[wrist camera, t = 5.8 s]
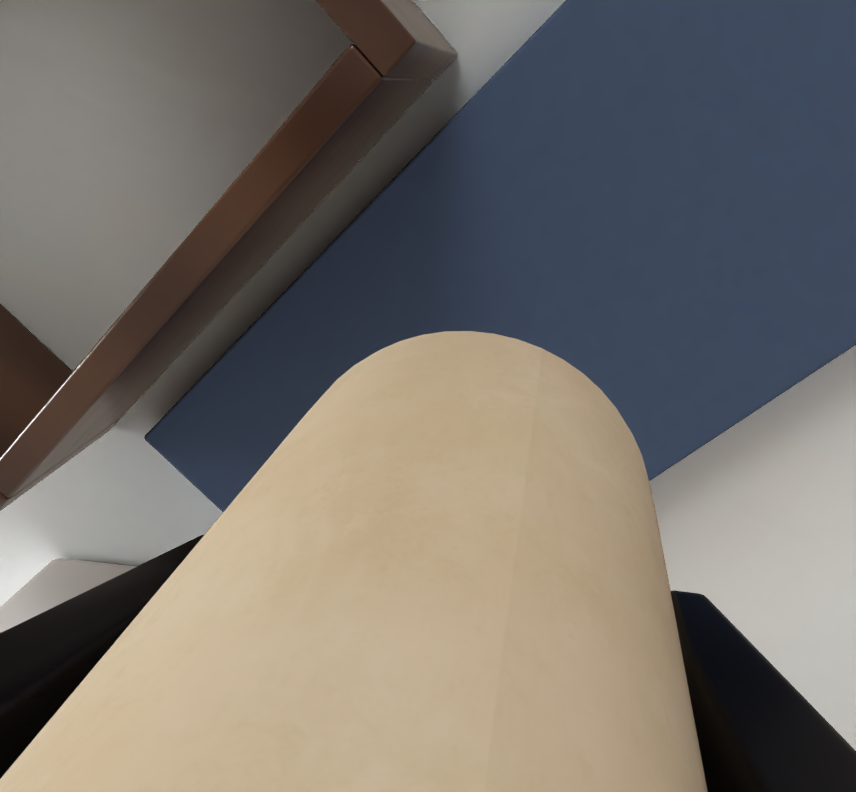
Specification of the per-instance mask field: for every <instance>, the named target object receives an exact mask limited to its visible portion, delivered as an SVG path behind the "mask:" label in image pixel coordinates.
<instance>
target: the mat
mask: <svg viewBox="0 0 856 792" xmlns="http://www.w3.org/2000/svg"><path fill="white" fill-rule="evenodd" d="M445 331H475V332H484V333H493V334H498V335H502V336H506V337H510V338H515V339H519V340H521V341H524V342H527V343H529V344H532V345H535V346H537V347H540V348H542V349H544V350H546V351H548V352H550V353H552V354H554V355H556V356H558V357H559V358H561V359H563V360H565V361H566V362H568V363H569V364H570V365H572V366H573V367H575V368H576V369H578V370H579V371H580V372H582V373H583V374H584V375H586V376H587V377H588V378H589V379H590V380H591V381H592V382H593V383H594V384H595V385H596V386H598V387H599V388H600V389H601V390H602V391H603V393H604V394H605V395H606V396H607V397H608V399H609V400H610V401H611V402H612V403H613V405H614V406H615V407H616V408H617V410H618V412H619V413H620V415H621V416H622V418H623V420H624V421H625V423H626V424H627V426H628V428H629V429H630V431H631V433H632V434H633V436H634V438H635V441H636V443H637V445H638V447H639V450H640V452H641V454H642V457H643V461H644V464H645V468H646V472H647V475H648V479H649V481H650V480H652V479H653V478H655V477H656V476H658V475H659V474H661V473H662V472H664V471H665V470H667V469H668V468H670V467H671V466H673V465H674V464H676V463H677V462H679V461H680V460H682V459H683V458H685V457H686V456H688V455H689V454H691V453H693V452H694V451H696V450H697V449H699V448H700V447H702V446H703V445H705V444H706V443H708V442H709V441H711V440H712V439H714V438H715V437H717V436H718V435H720V434H721V433H723V432H724V431H726V430H727V429H729V428H730V427H732V426H733V425H735V424H736V423H738V422H739V421H741V420H742V419H744V418H746V417H747V416H749V415H750V414H752V413H753V412H755V411H756V410H758V409H759V408H761V407H762V406H764V405H765V404H767V403H768V402H770V401H771V400H773V399H774V398H776V397H777V396H779V395H780V394H782V393H783V392H785V391H786V390H788V389H789V388H791V387H792V386H794V385H795V384H797V383H798V382H800V381H802V380H803V379H805V378H806V377H808V376H809V375H811V374H812V373H814V372H815V371H817V370H818V369H820V368H821V367H823V366H824V365H826V364H827V363H829V362H830V361H832V360H833V359H835V358H836V357H838V356H839V355H841V354H842V353H844V352H845V351H847V350H848V349H850V348H851V347H853V346H854V345H856V0H566V1H565V2H564V3H563V4H562V5H561V6H560V7H559V8H558V9H557V10H556V11H555V13H554V14H553V15H552V16H551V17H550V18H549V19H548V20H547V21H546V22H545V23H544V24H543V25H542V26H541V27H540V28H539V29H538V30H537V31H536V32H535V33H534V34H533V35H532V36H531V37H530V38H529V39H528V40H527V41H526V42H525V44H524V45H523V46H522V47H521V48H520V49H519V50H518V51H517V52H516V53H515V54H514V55H513V56H512V57H511V58H510V59H509V60H508V61H507V62H506V63H505V64H504V65H503V66H502V67H501V68H500V69H499V70H498V71H497V72H496V73H495V75H494V76H493V77H492V78H491V79H490V80H489V81H488V82H487V83H486V84H485V85H484V86H483V87H482V88H481V89H480V90H479V91H478V92H477V93H476V94H475V95H474V96H473V97H472V98H471V99H470V100H469V101H468V102H467V103H466V104H465V106H464V107H463V108H462V109H461V110H460V111H459V112H458V113H457V114H456V115H455V116H454V117H453V118H452V119H451V120H450V121H449V122H448V123H447V124H446V125H445V126H444V127H443V128H442V129H441V130H440V131H439V132H438V133H437V134H436V135H435V137H434V138H433V139H432V140H431V141H430V142H429V143H428V144H427V145H426V146H425V147H424V148H423V149H422V150H421V151H420V152H419V153H418V154H417V155H416V156H415V157H414V158H413V159H412V160H411V161H410V162H409V163H408V164H407V165H406V166H405V168H404V169H403V170H402V171H401V172H400V173H399V174H398V175H397V176H396V177H395V178H394V179H393V180H392V181H391V182H390V183H389V184H388V185H387V186H386V187H385V188H384V189H383V190H382V191H381V192H380V193H379V194H378V195H377V196H376V197H375V199H374V200H373V201H372V202H371V203H370V204H369V205H368V206H367V207H366V208H365V209H364V210H363V211H362V212H361V213H360V214H359V215H358V216H357V217H356V218H355V219H354V220H353V221H352V222H351V223H350V224H349V225H348V226H347V227H346V228H345V230H344V231H343V232H342V233H341V234H340V235H339V236H338V237H337V238H336V239H335V240H334V241H333V242H332V243H331V244H330V245H329V246H328V247H327V248H326V249H325V250H324V251H323V252H322V253H321V254H320V255H319V256H318V257H317V258H316V259H315V261H314V262H313V263H312V264H311V265H310V266H309V267H308V268H307V269H306V270H305V271H304V272H303V273H302V274H301V275H300V276H299V277H298V278H297V279H296V280H295V281H294V282H293V283H292V284H291V285H290V286H289V287H288V288H287V289H286V290H285V292H284V293H283V294H282V295H281V296H280V297H279V298H278V299H277V300H276V301H275V302H274V303H273V304H272V305H271V306H270V307H269V308H268V309H267V310H266V311H265V312H264V313H263V314H262V315H261V316H260V317H259V318H258V319H257V320H256V321H255V323H254V324H253V325H252V326H251V327H250V328H249V329H248V330H247V331H246V332H245V333H244V334H243V335H242V336H241V337H240V338H239V339H238V340H237V341H236V342H235V343H234V344H233V345H232V346H231V347H230V348H229V349H228V350H227V351H226V352H225V354H224V355H223V356H222V357H221V358H220V359H219V360H218V361H217V362H216V363H215V364H214V365H213V366H212V367H211V368H210V369H209V370H208V371H207V372H206V373H205V374H204V375H203V376H202V377H201V378H200V379H199V380H198V381H197V382H196V383H195V385H194V386H193V387H192V388H191V389H190V390H189V391H188V392H187V393H186V394H185V395H184V396H183V397H182V398H181V399H180V400H179V401H178V402H177V403H176V404H175V405H174V406H173V407H172V408H171V409H170V410H169V411H168V412H167V413H166V414H165V416H164V417H163V418H162V419H161V420H160V421H159V422H158V423H157V424H156V425H155V426H154V427H153V428H152V429H151V430H150V431H149V432H148V433H147V434H146V435H145V440H146V441H147V442H148V443H149V444H150V445H152V446H153V447H154V448H155V449H156V450H157V451H158V452H159V453H160V454H161V455H162V456H163V457H164V458H166V459H167V460H168V461H169V462H170V463H171V464H172V465H173V466H174V467H175V468H176V469H177V470H178V471H179V472H181V473H182V474H183V475H184V476H185V477H186V478H187V479H188V480H189V481H190V482H191V483H192V484H193V485H195V486H196V487H197V488H198V489H199V490H200V491H201V492H202V493H203V494H204V495H205V496H206V497H207V498H208V499H210V500H211V501H212V502H213V503H214V504H215V505H216V506H217V507H218V508H219V509H220V510H221V511H222V512H224V511H225V510H226V509H227V508H228V506H229V505H230V504H231V503H232V502H233V500H234V499H235V498H236V497H237V496H238V494H239V493H240V492H241V491H242V490H243V488H244V487H245V486H246V485H247V484H248V482H249V481H250V480H251V479H252V478H253V476H254V475H255V474H256V473H257V472H258V470H259V469H260V468H261V467H262V466H263V465H264V463H265V462H266V461H267V460H268V459H269V457H270V456H271V455H272V454H273V453H274V451H275V450H276V449H277V448H278V447H279V445H280V444H281V443H282V442H283V441H284V439H285V438H286V437H287V436H288V435H289V433H290V432H291V431H292V430H293V429H294V427H295V426H296V425H297V424H298V423H299V421H300V420H301V419H302V418H303V417H304V416H305V414H306V413H307V412H308V411H309V410H310V409H311V408H312V407H313V405H314V404H315V403H316V402H317V401H318V400H319V399H320V398H321V397H322V395H323V394H324V393H325V392H326V391H327V390H328V389H329V388H330V387H331V386H332V384H333V383H334V382H335V381H336V380H337V379H338V378H339V377H341V376H342V375H343V374H344V373H345V372H347V371H348V370H349V369H350V368H351V367H353V366H354V365H356V364H357V363H359V362H360V361H362V360H364V359H365V358H367V357H369V356H370V355H372V354H373V353H375V352H377V351H379V350H381V349H383V348H385V347H388V346H390V345H392V344H395V343H397V342H399V341H402V340H406V339H409V338H413V337H416V336H420V335H424V334H431V333H438V332H445Z"/></svg>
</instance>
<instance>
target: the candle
mask: <svg viewBox="0 0 856 792" xmlns="http://www.w3.org/2000/svg"><path fill="white" fill-rule="evenodd" d="M0 792H708V791H707V785H706V780H705V775H704V769H703V764H702V758H701V753H700V748H699V742H698V737H697V732H696V726H695V721H694V715H693V710H692V705H691V699H690V694H689V688H688V683H687V678H686V672H685V667H684V661H683V656H682V651H681V645H680V640H679V635H678V629H677V624H676V618H675V613H674V608H673V602H672V597H671V591H670V586H669V581H668V575H667V570H666V564H665V559H664V554H663V548H662V543H661V538H660V532H659V527H658V521H657V516H656V511H655V505H654V501H653V497H652V492H651V488H650V484H649V479H648V475H647V472H646V468H645V464H644V461H643V457H642V454H641V452H640V450H639V447H638V445H637V443H636V441H635V438H634V436H633V434H632V433H631V431H630V429H629V428H628V426H627V424H626V423H625V421H624V420H623V418H622V416H621V415H620V413H619V412H618V410H617V408H616V407H615V406H614V405H613V403H612V402H611V401H610V400H609V399H608V397H607V396H606V395H605V394H604V393H603V391H602V390H601V389H600V388H599V387H598V386H596V385H595V384H594V383H593V382H592V381H591V380H590V379H589V378H588V377H587V376H586V375H584V374H583V373H582V372H580V371H579V370H578V369H576V368H575V367H573V366H572V365H570V364H569V363H568V362H566V361H565V360H563V359H561V358H559V357H558V356H556V355H554V354H552V353H550V352H548V351H546V350H544V349H542V348H540V347H537V346H535V345H532V344H529V343H527V342H524V341H521V340H519V339H515V338H510V337H506V336H502V335H498V334H493V333H484V332H475V331H445V332H438V333H431V334H424V335H420V336H416V337H413V338H409V339H406V340H402V341H399V342H397V343H395V344H392V345H390V346H388V347H385V348H383V349H381V350H379V351H377V352H375V353H373V354H372V355H370V356H369V357H367V358H365V359H364V360H362V361H360V362H359V363H357V364H356V365H354V366H353V367H351V368H350V369H349V370H348V371H347V372H345V373H344V374H343V375H342V376H341V377H339V378H338V379H337V380H336V381H335V382H334V383H333V384H332V386H331V387H330V388H329V389H328V390H327V391H326V392H325V393H324V394H323V395H322V397H321V398H320V399H319V400H318V401H317V402H316V403H315V404H314V405H313V407H312V408H311V409H310V410H309V411H308V412H307V413H306V414H305V416H304V417H303V418H302V419H301V420H300V421H299V423H298V424H297V425H296V426H295V427H294V429H293V430H292V431H291V432H290V433H289V435H288V436H287V437H286V438H285V439H284V441H283V442H282V443H281V444H280V445H279V447H278V448H277V449H276V450H275V451H274V453H273V454H272V455H271V456H270V457H269V459H268V460H267V461H266V462H265V463H264V465H263V466H262V467H261V468H260V469H259V470H258V472H257V473H256V474H255V475H254V476H253V478H252V479H251V480H250V481H249V482H248V484H247V485H246V486H245V487H244V488H243V490H242V491H241V492H240V493H239V494H238V496H237V497H236V498H235V499H234V500H233V502H232V503H231V504H230V505H229V506H228V508H227V509H226V510H225V511H224V512H223V514H222V515H221V516H220V517H219V518H218V519H217V521H216V522H215V523H214V524H213V525H212V527H211V528H210V529H209V530H208V531H207V533H206V534H205V535H204V536H203V537H202V539H201V540H200V541H199V542H198V543H197V545H196V546H195V547H194V548H193V549H192V551H191V552H190V553H189V554H188V555H187V557H186V558H185V559H184V560H183V561H182V563H181V564H180V565H179V566H178V567H177V568H176V570H175V571H174V572H173V573H172V574H171V576H170V577H169V578H168V579H167V580H166V582H165V583H164V584H163V585H162V586H161V588H160V589H159V590H158V591H157V592H156V594H155V595H154V596H153V597H152V598H151V600H150V601H149V602H148V603H147V604H146V606H145V607H144V608H143V609H142V610H141V612H140V613H139V614H138V615H137V616H136V617H135V619H134V620H133V621H132V622H131V623H130V625H129V626H128V627H127V628H126V629H125V631H124V632H123V633H122V634H121V635H120V637H119V638H118V639H117V640H116V641H115V643H114V644H113V645H112V646H111V647H110V649H109V650H108V651H107V652H106V653H105V655H104V656H103V657H102V658H101V659H100V660H99V662H98V663H97V664H96V665H95V666H94V668H93V669H92V670H91V671H90V672H89V674H88V675H87V676H86V677H85V678H84V680H83V681H82V682H81V683H80V684H79V686H78V687H77V688H76V689H75V690H74V692H73V693H72V694H71V695H70V696H69V698H68V699H67V700H66V701H65V702H64V704H63V705H62V706H61V707H60V708H59V709H58V711H57V712H56V713H55V714H54V715H53V717H52V718H51V719H50V720H49V721H48V723H47V724H46V725H45V726H44V727H43V729H42V730H41V731H40V732H39V733H38V735H37V736H36V737H35V738H34V739H33V741H32V742H31V743H30V744H29V745H28V747H27V748H26V749H25V750H24V751H23V753H22V754H21V755H20V756H19V757H18V758H17V760H16V761H15V762H14V763H13V764H12V766H11V767H10V768H9V769H8V770H7V772H6V773H5V774H4V775H3V776H2V778H1V779H0Z"/></svg>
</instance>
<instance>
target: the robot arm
mask: <svg viewBox="0 0 856 792" xmlns="http://www.w3.org/2000/svg"><path fill="white" fill-rule="evenodd" d="M203 536H204V535H201V536H199V537H197V538H195V539H193V540H191V541H189V542H187V543H185V544H183V545H180V546H178V547H176V548H174V549H172V550H170V551H168V552H166V553H164V554H162V555H160V556H158V557H156V558H154V559H152V560H150V561H148V562H145V563H143V564H141V565H139V566H137V567H135V568H133V569H131V570H129V571H127V572H125V573H123V574H121V575H119V576H117V577H115V578H113V579H110V580H108V581H106V582H104V583H102V584H100V585H98V586H96V587H94V588H92V589H90V590H88V591H86V592H84V593H82V594H80V595H78V596H75V597H73V598H71V599H69V600H67V601H65V602H63V603H61V604H59V605H57V606H55V607H53V608H51V609H49V610H47V611H45V612H43V613H40V614H38V615H36V616H34V617H32V618H30V619H28V620H26V621H24V622H22V623H20V624H18V625H16V626H14V627H12V628H10V629H8V630H5V631H3V632H1V633H0V779H1V778H2V776H3V775H4V774H5V773H6V772H7V770H8V769H9V768H10V767H11V766H12V764H13V763H14V762H15V761H16V760H17V758H18V757H19V756H20V755H21V754H22V753H23V751H24V750H25V749H26V748H27V747H28V745H29V744H30V743H31V742H32V741H33V739H34V738H35V737H36V736H37V735H38V733H39V732H40V731H41V730H42V729H43V727H44V726H45V725H46V724H47V723H48V721H49V720H50V719H51V718H52V717H53V715H54V714H55V713H56V712H57V711H58V709H59V708H60V707H61V706H62V705H63V704H64V702H65V701H66V700H67V699H68V698H69V696H70V695H71V694H72V693H73V692H74V690H75V689H76V688H77V687H78V686H79V684H80V683H81V682H82V681H83V680H84V678H85V677H86V676H87V675H88V674H89V672H90V671H91V670H92V669H93V668H94V666H95V665H96V664H97V663H98V662H99V660H100V659H101V658H102V657H103V656H104V655H105V653H106V652H107V651H108V650H109V649H110V647H111V646H112V645H113V644H114V643H115V641H116V640H117V639H118V638H119V637H120V635H121V634H122V633H123V632H124V631H125V629H126V628H127V627H128V626H129V625H130V623H131V622H132V621H133V620H134V619H135V617H136V616H137V615H138V614H139V613H140V612H141V610H142V609H143V608H144V607H145V606H146V604H147V603H148V602H149V601H150V600H151V598H152V597H153V596H154V595H155V594H156V592H157V591H158V590H159V589H160V588H161V586H162V585H163V584H164V583H165V582H166V580H167V579H168V578H169V577H170V576H171V574H172V573H173V572H174V571H175V570H176V568H177V567H178V566H179V565H180V564H181V563H182V561H183V560H184V559H185V558H186V557H187V555H188V554H189V553H190V552H191V551H192V549H193V548H194V547H195V546H196V545H197V543H198V542H199V541H200V540H201V539H202V537H203ZM671 597H672V602H673V608H674V613H675V618H676V624H677V629H678V635H679V640H680V645H681V651H682V656H683V661H684V667H685V672H686V678H687V683H688V688H689V694H690V699H691V705H692V710H693V715H694V721H695V726H696V732H697V737H698V742H699V748H700V753H701V758H702V764H703V769H704V775H705V780H706V785H707V791H708V792H856V751H855V750H854V749H853V748H852V747H851V746H850V745H849V744H848V743H847V741H846V740H845V739H844V738H843V737H842V736H841V735H840V734H839V733H838V732H837V731H836V730H835V729H834V728H833V727H832V726H831V725H830V724H829V723H828V722H827V721H826V720H825V719H824V718H823V717H822V716H821V715H820V714H819V713H818V712H817V711H816V710H815V709H814V708H813V706H812V705H811V704H810V703H809V702H808V701H807V700H806V699H805V698H804V697H803V696H802V695H801V694H800V693H799V692H798V691H797V690H796V689H795V688H794V687H793V686H792V685H791V684H790V683H789V682H788V681H787V680H786V679H785V678H784V677H783V676H782V675H781V674H780V673H779V671H778V670H777V669H776V668H775V667H774V666H773V665H772V664H771V663H770V662H769V661H768V660H767V659H766V658H765V657H764V656H763V655H762V654H761V653H760V652H759V651H758V650H757V649H756V648H755V647H754V646H753V645H752V644H751V643H750V642H749V641H748V640H747V639H746V637H745V636H744V635H743V634H742V633H741V632H740V631H739V630H738V629H737V628H736V627H735V626H734V625H733V624H732V623H731V622H730V621H729V620H728V619H727V618H726V617H725V616H724V615H723V614H722V613H721V612H720V611H719V610H718V609H717V608H716V607H715V606H714V605H713V604H712V602H711V601H710V600H709V599H708V598H706V597H705V596H704V595H702V594H698V593H689V592H681V591H671Z"/></svg>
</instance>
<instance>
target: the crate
mask: <svg viewBox="0 0 856 792" xmlns="http://www.w3.org/2000/svg"><path fill="white" fill-rule="evenodd" d="M316 1H317V3H318V4H319V5H320V6H321V7H322V8H323V9H324V10H325V12H326V13H327V14H328V15H329V16H330V17H331V18H332V19H333V21H334V22H335V23H336V24H337V25H338V26H339V27H340V28H341V29H342V31H343V32H344V33H345V34H346V35H347V36H348V37H349V38H350V40H351V41H352V42H353V43H354V44H352V45H350V46H348V48H347V49H346V50H345V51H344V52H343V53H342V55H341V56H340V57H339V58H338V59H337V61H336V62H335V63H334V64H333V65H332V66H331V68H330V69H329V70H328V71H327V72H326V74H325V75H324V76H323V77H322V78H321V79H320V81H319V82H318V83H317V84H316V85H315V87H314V88H313V89H312V90H311V91H310V92H309V94H308V95H307V96H306V97H305V98H304V100H303V101H302V102H301V103H300V104H299V105H298V107H297V108H296V109H295V110H294V111H293V112H292V114H291V115H290V116H289V117H288V118H287V120H286V121H285V122H284V123H283V124H282V125H281V127H280V128H279V129H278V130H277V131H276V133H275V134H274V135H273V136H272V137H271V138H270V140H269V141H268V142H267V143H266V144H265V146H264V147H263V148H262V149H261V150H260V151H259V153H258V154H257V155H256V156H255V157H254V159H253V160H252V161H251V162H250V163H249V164H248V166H247V167H246V168H245V169H244V170H243V171H242V173H241V174H240V175H239V176H238V177H237V179H236V180H235V181H234V182H233V183H232V184H231V186H230V187H229V188H228V189H227V190H226V192H225V193H224V194H223V195H222V196H221V197H220V199H219V200H218V201H217V202H216V203H215V205H214V206H213V207H212V208H211V209H210V210H209V212H208V213H207V214H206V215H205V216H204V218H203V219H202V220H201V221H200V222H199V223H198V225H197V226H196V227H195V228H194V229H193V231H192V232H191V233H190V234H189V235H188V236H187V238H186V239H185V240H184V241H183V242H182V243H181V245H180V246H179V247H178V248H177V249H176V251H175V252H174V253H173V254H172V255H171V256H170V258H169V259H168V260H167V261H166V262H165V264H164V265H163V266H162V267H161V268H160V269H159V271H158V272H157V273H156V274H155V275H154V277H153V278H152V279H151V280H150V281H149V282H148V284H147V285H146V286H145V287H144V288H143V290H142V291H141V292H140V293H139V294H138V295H137V297H136V298H135V299H134V300H133V301H132V303H131V304H130V305H129V306H128V307H127V308H126V310H125V311H124V312H123V313H122V314H121V315H120V317H119V318H118V319H117V320H116V321H115V323H114V324H113V325H112V326H111V327H110V328H109V330H108V331H107V332H106V333H105V334H104V336H103V337H102V338H101V339H100V340H99V341H98V343H97V344H96V345H95V346H94V347H93V349H92V350H91V351H90V352H89V353H88V354H87V356H86V357H85V358H84V359H83V360H82V362H81V363H80V364H79V365H78V366H77V367H76V369H75V370H74V371H71V370H70V369H69V368H68V367H67V366H66V365H65V364H64V363H63V362H62V361H61V360H60V359H59V358H57V357H56V356H55V355H54V354H53V353H52V352H51V351H50V350H49V349H48V348H47V347H46V346H45V345H44V344H42V343H41V342H40V341H39V340H38V339H37V338H36V337H35V336H34V335H33V334H32V333H31V332H30V331H28V330H27V329H26V328H25V327H24V326H23V325H22V324H21V323H20V322H19V321H18V320H17V319H16V318H15V317H13V316H12V315H11V314H10V313H9V312H8V311H7V310H6V309H5V308H4V307H3V306H2V305H1V304H0V511H1V510H2V509H4V508H5V507H6V506H8V505H9V504H10V503H12V502H13V501H14V500H16V499H17V498H18V497H20V496H21V495H23V494H24V493H25V492H27V491H28V490H29V489H31V488H32V487H33V486H35V485H36V484H37V483H39V482H40V481H42V480H43V479H44V478H46V477H47V476H48V475H50V474H51V473H52V472H54V471H55V470H56V469H58V468H59V467H61V466H62V465H63V464H65V463H66V462H67V461H69V460H70V459H71V458H73V457H74V456H75V455H77V454H78V453H79V452H81V451H82V450H84V449H85V448H86V447H88V446H89V445H90V444H92V443H93V442H94V441H96V440H97V439H98V438H100V437H101V436H103V435H104V434H105V433H107V432H108V431H109V430H110V429H111V428H112V427H113V426H114V425H115V424H116V423H117V422H118V420H119V419H120V418H121V417H122V416H123V415H124V414H125V413H126V412H127V411H128V410H129V409H130V408H131V406H132V405H133V404H134V403H135V402H136V401H137V400H138V399H139V398H140V397H141V396H142V395H143V394H144V392H145V391H146V390H147V389H148V388H149V387H150V386H151V385H152V384H153V383H154V382H155V381H156V380H157V378H158V377H159V376H160V375H161V374H162V373H163V372H164V371H165V370H166V369H167V368H168V367H169V366H170V364H171V363H172V362H173V361H174V360H175V359H176V358H177V357H178V356H179V355H180V354H181V353H182V352H183V350H184V349H185V348H186V347H187V346H188V345H189V344H190V343H191V342H192V341H193V340H194V339H195V338H196V336H197V335H198V334H199V333H200V332H201V331H202V330H203V329H204V328H205V327H206V326H207V325H208V324H209V322H210V321H211V320H212V319H213V318H214V317H215V316H216V315H217V314H218V313H219V312H220V311H221V310H222V308H223V307H224V306H225V305H226V304H227V303H228V302H229V301H230V300H231V299H232V298H233V297H234V296H235V295H236V293H237V292H238V291H239V290H240V289H241V288H242V287H243V286H244V285H245V284H246V283H247V282H248V281H249V279H250V278H251V277H252V276H253V275H254V274H255V273H256V272H257V271H258V270H259V269H260V268H261V267H262V265H263V264H264V263H265V262H266V261H267V260H268V259H269V258H270V257H271V256H272V255H273V254H274V253H275V251H276V250H277V249H278V248H279V247H280V246H281V245H282V244H283V243H284V242H285V241H286V240H287V239H288V237H289V236H290V235H291V234H292V233H293V232H294V231H295V230H296V229H297V228H298V227H299V226H300V225H301V223H302V222H303V221H304V220H305V219H306V218H307V217H308V216H309V215H310V214H311V213H312V212H313V211H314V209H315V208H316V207H317V206H318V205H319V204H320V203H321V202H322V201H323V200H324V199H325V198H326V197H327V195H328V194H329V193H330V192H331V191H332V190H333V189H334V188H335V187H336V186H337V185H338V184H339V183H340V181H341V180H342V179H343V178H344V177H345V176H346V175H347V174H348V173H349V172H350V171H351V170H352V169H353V167H354V166H355V165H356V164H357V163H358V162H359V161H360V160H361V159H362V158H363V157H364V156H365V155H366V153H367V152H368V151H369V150H370V149H371V148H372V147H373V146H374V145H375V144H376V143H377V142H378V141H379V139H380V138H381V137H382V136H383V135H384V134H385V133H386V132H387V131H388V130H389V129H390V128H391V127H392V125H393V124H394V123H395V122H396V121H397V120H398V119H399V118H400V117H401V116H402V115H403V114H404V113H405V112H406V110H407V109H408V108H409V107H410V106H411V105H412V104H413V103H414V102H415V101H416V100H417V99H418V98H419V96H420V95H421V94H422V93H423V92H424V91H425V90H426V89H427V88H428V87H429V86H430V85H431V82H432V80H436V79H437V77H438V76H439V75H440V74H441V73H442V72H443V71H444V70H445V69H446V68H447V67H448V66H449V65H450V63H451V62H452V61H453V60H454V59H455V58H456V57H457V56H458V53H457V52H456V50H455V49H454V48H453V47H452V46H451V45H450V43H449V42H448V41H447V40H446V39H445V38H444V37H443V35H442V34H441V33H440V32H439V31H438V30H437V28H436V27H435V26H434V25H433V24H432V23H431V21H430V20H429V19H428V18H427V17H426V16H425V14H424V13H423V12H422V11H421V10H420V9H419V8H418V6H417V5H416V4H415V3H414V2H413V1H412V0H316Z"/></svg>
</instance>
